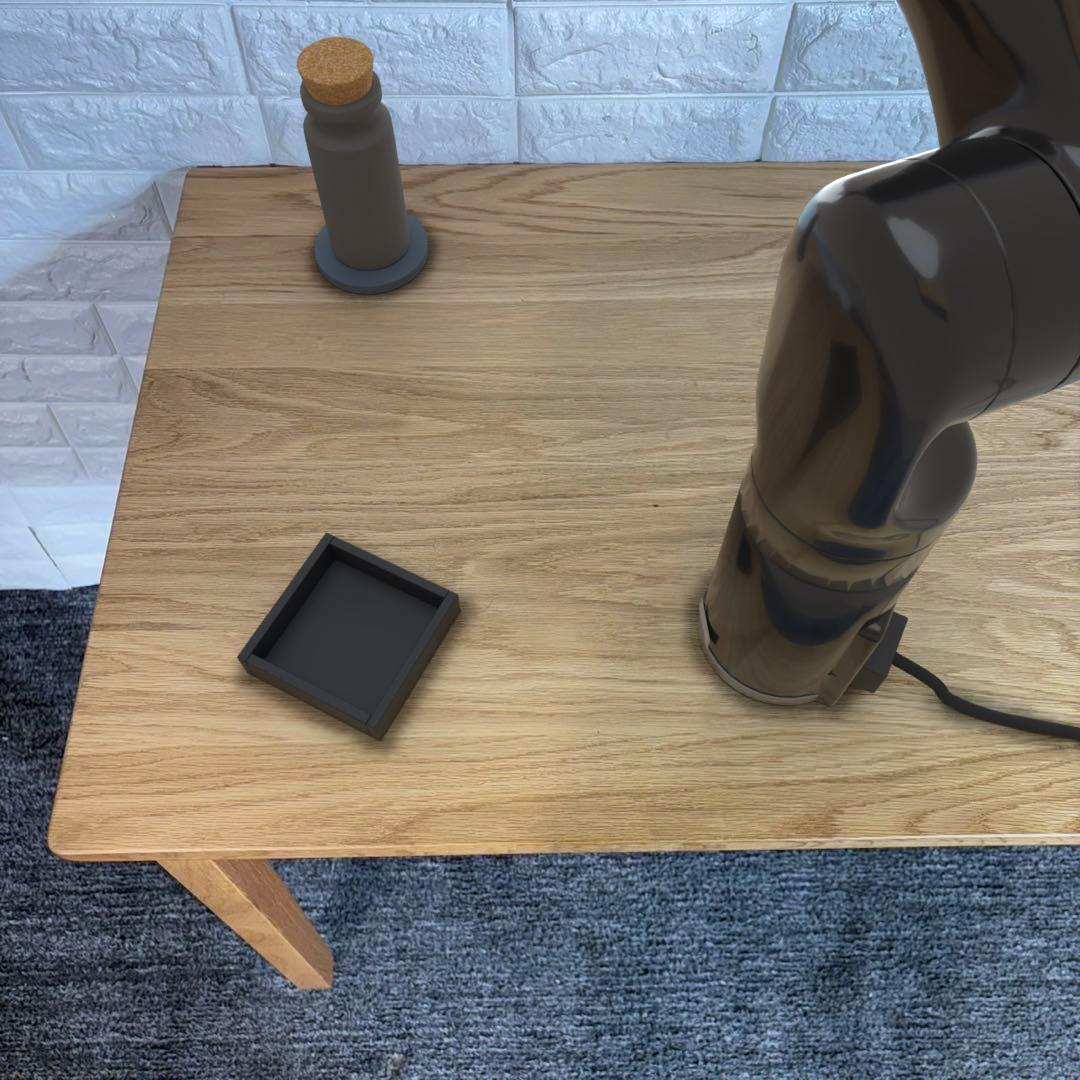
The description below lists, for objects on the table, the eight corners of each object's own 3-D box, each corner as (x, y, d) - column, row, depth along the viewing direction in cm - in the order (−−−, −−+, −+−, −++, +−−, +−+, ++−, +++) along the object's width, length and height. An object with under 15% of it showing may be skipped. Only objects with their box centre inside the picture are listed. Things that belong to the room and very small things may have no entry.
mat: (448, 235, 76) (447, 227, 75) (391, 309, 72) (389, 301, 72) (355, 199, 78) (353, 191, 77) (294, 270, 74) (292, 262, 74)
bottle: (398, 276, 73) (366, 95, 60) (321, 265, 73) (273, 83, 60) (419, 220, 76) (393, 35, 63) (345, 210, 76) (304, 24, 63)
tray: (461, 611, 60) (458, 593, 58) (380, 742, 56) (374, 728, 54) (333, 550, 62) (326, 531, 60) (246, 672, 58) (236, 657, 56)
